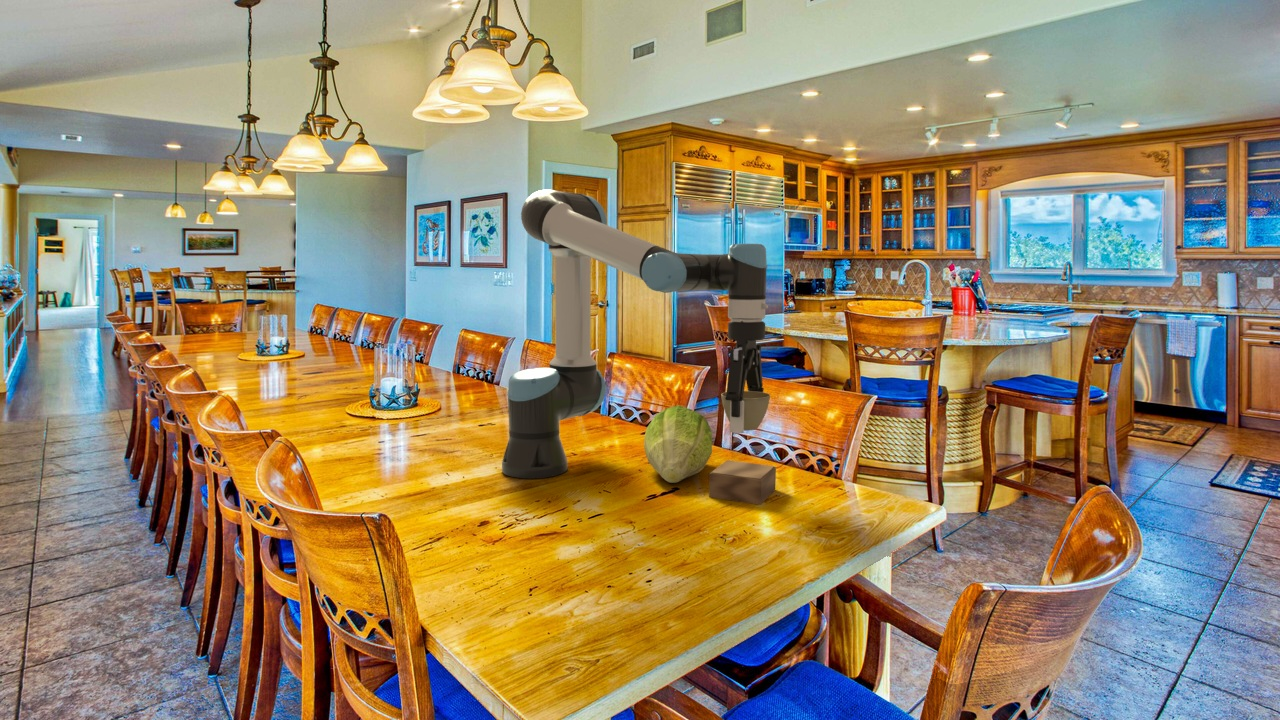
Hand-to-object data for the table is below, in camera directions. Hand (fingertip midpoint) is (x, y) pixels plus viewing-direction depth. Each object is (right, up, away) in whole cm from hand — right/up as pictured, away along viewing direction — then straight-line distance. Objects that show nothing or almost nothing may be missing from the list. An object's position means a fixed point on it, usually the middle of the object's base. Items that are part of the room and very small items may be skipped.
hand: (744, 427), depth 145 cm
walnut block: (0, -14, +2) cm, 14 cm away
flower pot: (0, 0, 0) cm, 0 cm away
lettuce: (-13, -13, +16) cm, 24 cm away
